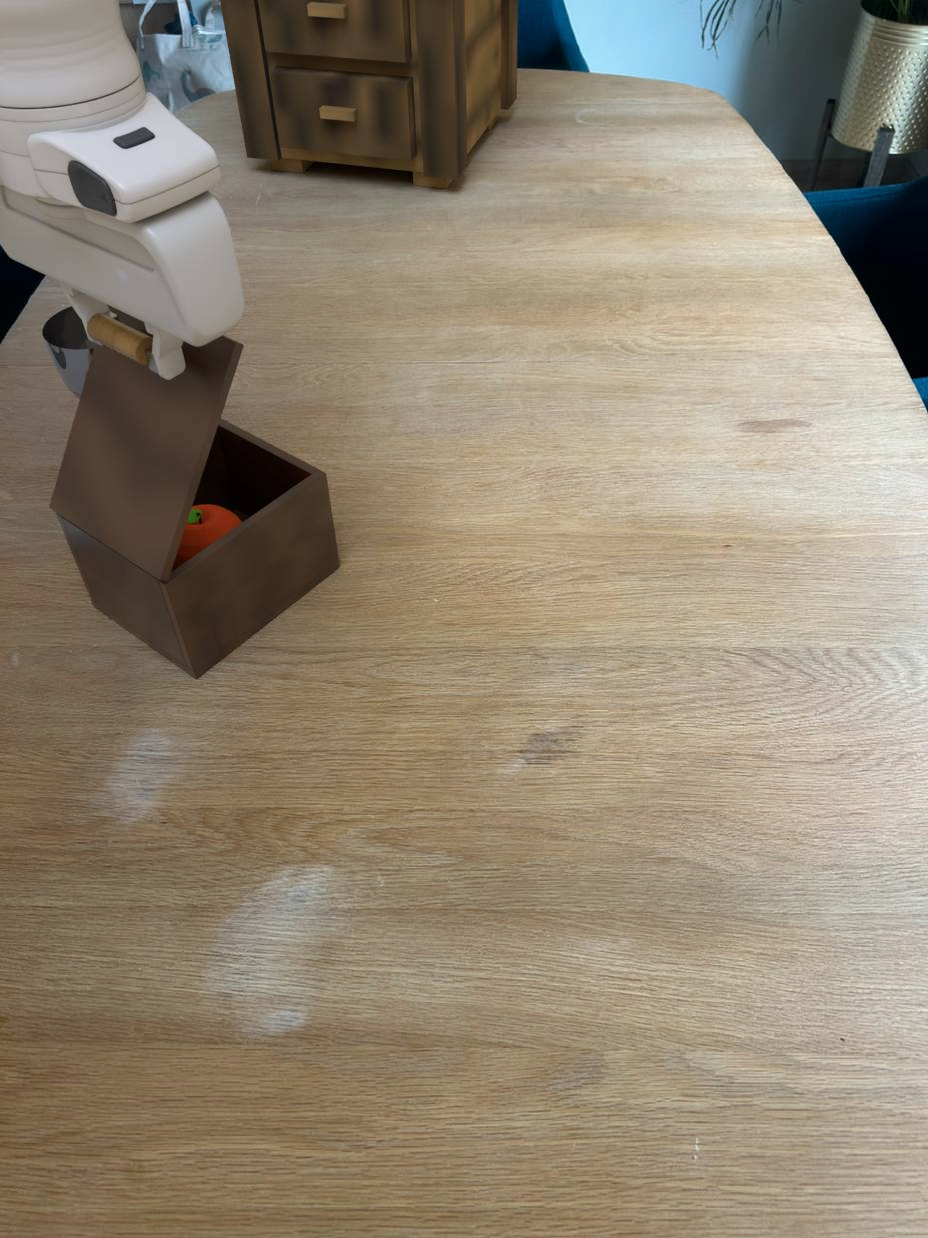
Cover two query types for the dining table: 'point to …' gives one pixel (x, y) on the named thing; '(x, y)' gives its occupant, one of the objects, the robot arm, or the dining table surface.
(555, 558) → the dining table surface
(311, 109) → the wooden drawer cabinet
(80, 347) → the wine glass
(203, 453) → the lid
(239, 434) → the chest
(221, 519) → the clementine
